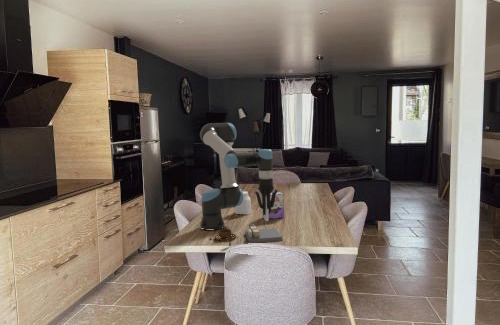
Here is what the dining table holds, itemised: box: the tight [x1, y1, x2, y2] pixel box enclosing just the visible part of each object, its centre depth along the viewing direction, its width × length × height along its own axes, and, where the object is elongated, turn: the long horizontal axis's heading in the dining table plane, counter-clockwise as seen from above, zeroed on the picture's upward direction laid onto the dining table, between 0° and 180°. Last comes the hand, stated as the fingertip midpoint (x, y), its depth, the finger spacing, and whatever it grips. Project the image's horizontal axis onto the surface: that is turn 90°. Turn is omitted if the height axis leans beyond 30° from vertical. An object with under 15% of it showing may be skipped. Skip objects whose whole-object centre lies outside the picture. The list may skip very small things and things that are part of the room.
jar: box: [234, 191, 252, 215], centre depth 266 cm, size 12×10×15 cm
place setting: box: [214, 228, 237, 247], centre depth 206 cm, size 18×20×6 cm
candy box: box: [261, 192, 285, 220], centre depth 251 cm, size 14×6×16 cm, turn 105°
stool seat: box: [244, 227, 283, 244], centre depth 209 cm, size 18×17×5 cm
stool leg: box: [248, 223, 260, 238], centre depth 209 cm, size 16×3×3 cm, turn 10°
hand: (266, 220), depth 206 cm, fingers closed
